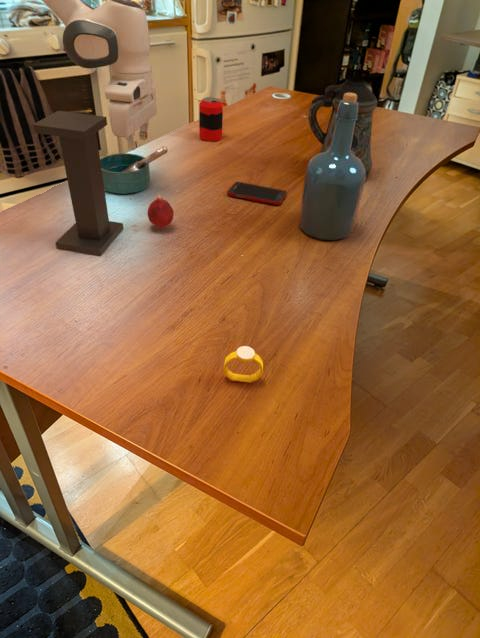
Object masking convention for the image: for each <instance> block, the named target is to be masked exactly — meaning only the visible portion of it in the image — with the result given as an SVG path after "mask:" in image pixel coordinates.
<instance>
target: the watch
mask: <svg viewBox="0 0 480 638" xmlns="http://www.w3.org/2000/svg"><path fill="white" fill-rule="evenodd" d="M237 359H238V361H241V362H243V363H248V362H251V361H254V362H255V363H257V365H258V366H259V369H258V370H257V371H256V372H255V373H253V374H249V375H248V374H240V373H234V372H233V371H231V370H230V369H229V367H228V364H230V363H231V362H232V361H233V360H237ZM222 370H223V373H224V375H225V377H226V378H228V379H229V380H230V381H232V382H239V383H248V384H251V383H254V382H256V381H258V380H259V379H260V378H261V377H262V376H263V373H264V361H263V360H262V358H261V356H260V355H259V354H257V353H256V351H255V350H254V349H253V348H252V347H251V346H248V345H242V346H239V347H238V348H237V349H236V350H235V351H233V352H230V353H229V354H228V355H227V356H226V357H225V358H224V362H223V369H222Z"/></svg>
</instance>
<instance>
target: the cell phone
mask: <svg viewBox="0 0 480 638" xmlns="http://www.w3.org/2000/svg"><path fill="white" fill-rule="evenodd" d="M287 194H288V193H287V191H286V190H284V189H278V188H274V187H268V186H263V185H257V184H252V183H247V182H241V181H235V182H234V183H233V184H232V185H231V186H230V187H229V189H228V190H227V192H226V195H227V196H229V197H234V198H240V199H245V200H248V201H252V202H259V203H262V204H263V203H264V204H268V205H273V206H281V205H282V204H283V202H284V200H285V199H286V198H287Z"/></svg>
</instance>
